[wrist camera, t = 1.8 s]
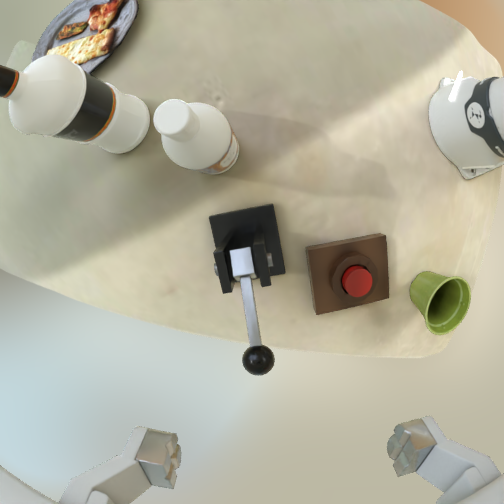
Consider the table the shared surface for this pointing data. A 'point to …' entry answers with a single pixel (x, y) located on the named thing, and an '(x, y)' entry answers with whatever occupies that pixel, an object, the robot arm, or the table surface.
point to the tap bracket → (247, 243)
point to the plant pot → (441, 300)
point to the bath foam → (196, 136)
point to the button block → (335, 265)
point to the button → (357, 281)
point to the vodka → (72, 105)
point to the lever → (251, 313)
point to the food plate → (88, 31)
